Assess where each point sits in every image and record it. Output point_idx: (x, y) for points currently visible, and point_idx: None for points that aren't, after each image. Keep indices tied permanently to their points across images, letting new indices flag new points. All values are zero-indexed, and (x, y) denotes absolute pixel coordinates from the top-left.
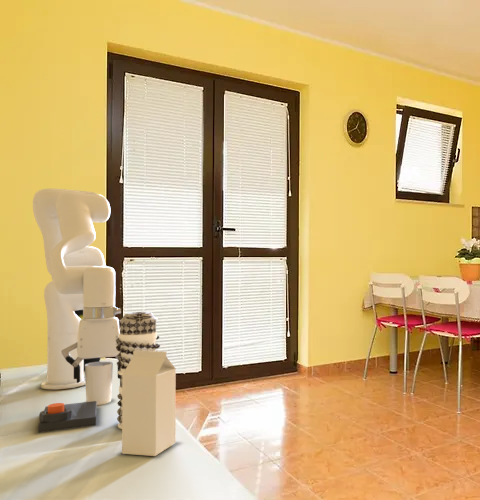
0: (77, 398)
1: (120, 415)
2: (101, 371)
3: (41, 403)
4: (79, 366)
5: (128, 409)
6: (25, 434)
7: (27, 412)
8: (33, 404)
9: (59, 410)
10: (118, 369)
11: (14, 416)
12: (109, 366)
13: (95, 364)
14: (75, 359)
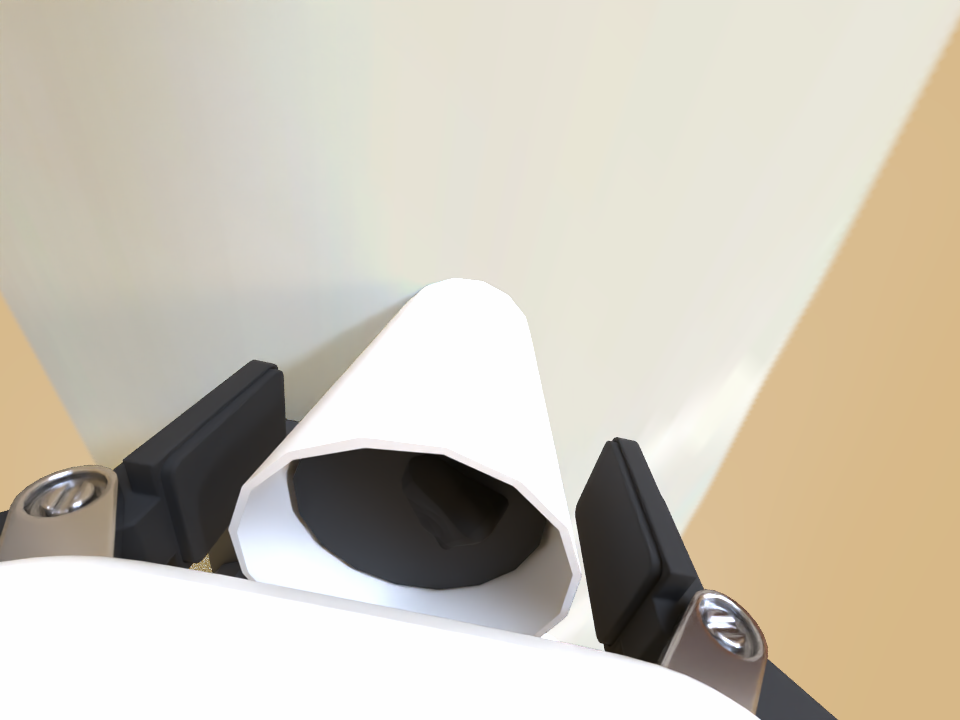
0: (348, 118)
1: None
2: (426, 595)
3: (105, 105)
4: (178, 525)
5: None
6: (203, 571)
7: (101, 305)
8: (54, 98)
9: None
10: (592, 586)
11: (63, 343)
12: (503, 627)
13: (382, 423)
14: (1, 551)
